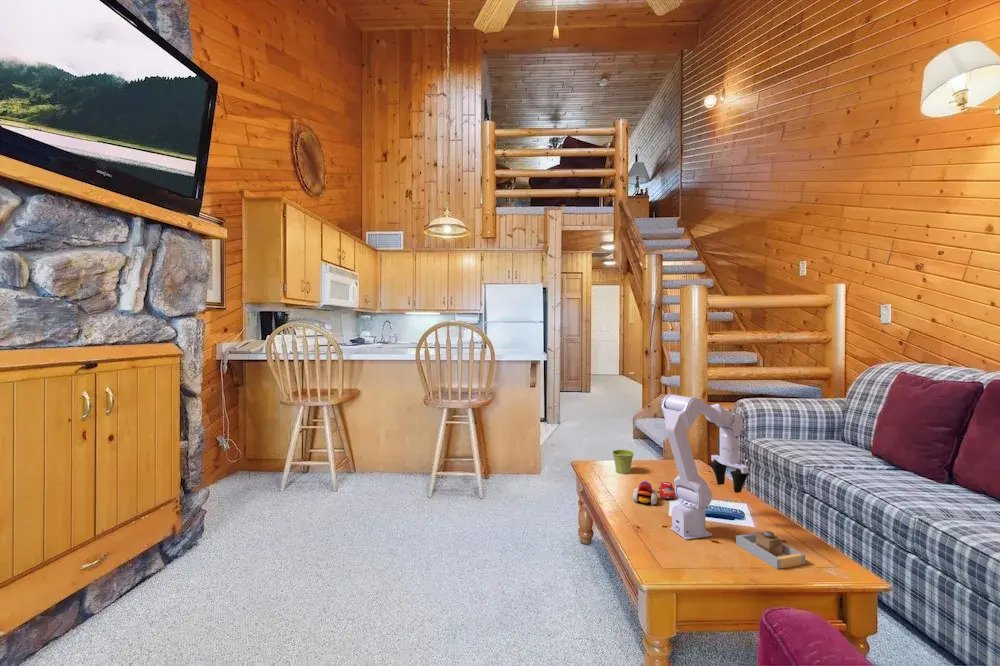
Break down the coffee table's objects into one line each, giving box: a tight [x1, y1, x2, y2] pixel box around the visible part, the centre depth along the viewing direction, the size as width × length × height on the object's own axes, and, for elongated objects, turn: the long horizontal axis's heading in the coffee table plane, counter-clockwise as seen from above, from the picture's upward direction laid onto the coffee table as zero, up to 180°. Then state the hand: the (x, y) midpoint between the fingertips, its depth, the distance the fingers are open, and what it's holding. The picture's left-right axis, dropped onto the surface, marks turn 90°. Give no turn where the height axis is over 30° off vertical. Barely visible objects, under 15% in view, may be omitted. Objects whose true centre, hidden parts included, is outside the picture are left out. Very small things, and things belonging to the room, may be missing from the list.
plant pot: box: [611, 449, 635, 475], centre depth 200 cm, size 9×9×9 cm
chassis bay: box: [735, 531, 806, 570], centre depth 128 cm, size 9×14×2 cm, turn 15°
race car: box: [658, 481, 676, 501], centre depth 174 cm, size 13×5×4 cm, turn 162°
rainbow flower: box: [632, 480, 658, 506], centre depth 167 cm, size 8×10×7 cm
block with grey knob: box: [756, 530, 783, 556], centre depth 128 cm, size 4×4×6 cm
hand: (729, 488), depth 151 cm, fingers open, 7 cm apart
